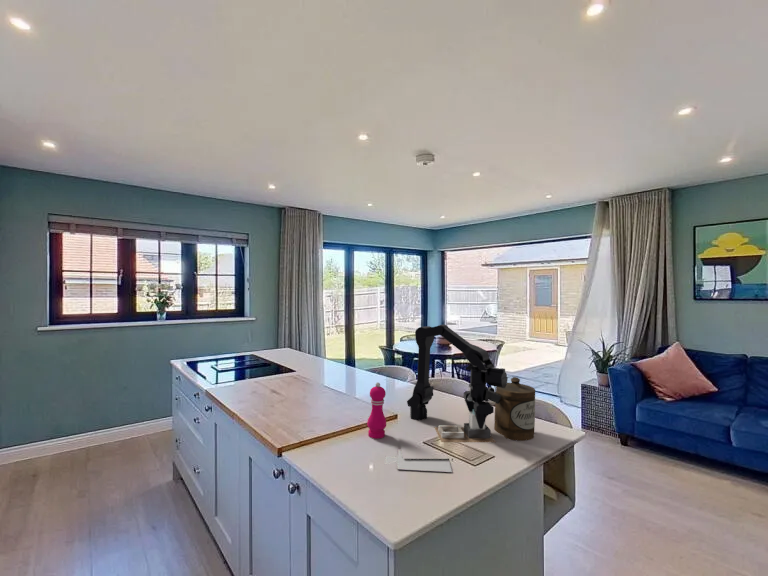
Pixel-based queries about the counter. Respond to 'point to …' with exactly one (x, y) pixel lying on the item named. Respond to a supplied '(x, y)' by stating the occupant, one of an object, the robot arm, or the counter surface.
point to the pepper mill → (377, 413)
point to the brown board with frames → (463, 434)
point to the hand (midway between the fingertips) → (477, 423)
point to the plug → (473, 421)
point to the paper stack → (419, 463)
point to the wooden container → (515, 411)
